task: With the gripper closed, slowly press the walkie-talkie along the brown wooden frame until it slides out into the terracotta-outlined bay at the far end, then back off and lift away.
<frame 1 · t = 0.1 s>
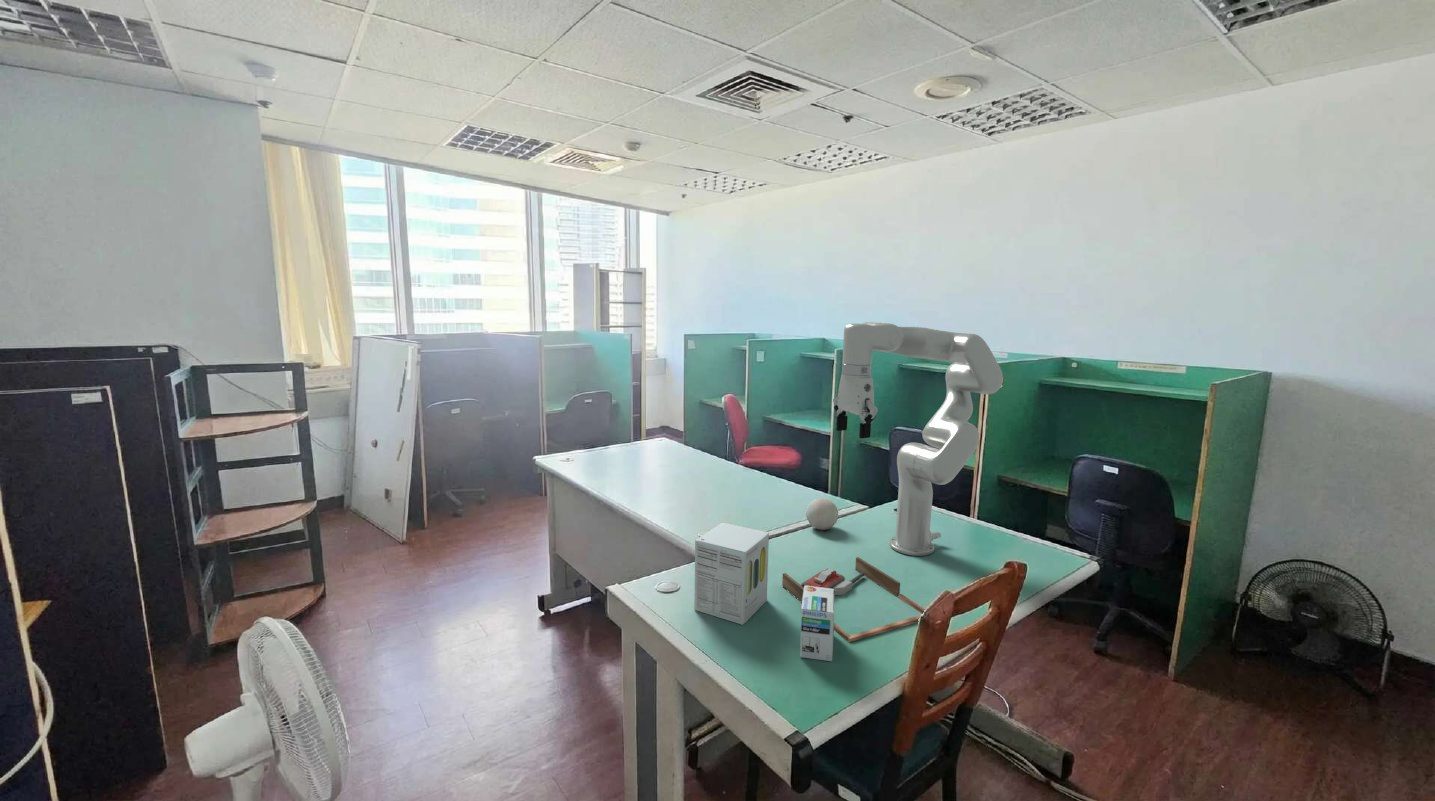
hand: (852, 433, 156), 37 cm above the table, tool pointing down, fingers open, 9 cm apart
light bulb box: (816, 646, 122), on the table
brown wooden frame: (855, 602, 140), on the table
supplement box: (731, 606, 138), on the table
eye model: (821, 529, 186), on the table
walkie-talkie: (832, 588, 148), on the table
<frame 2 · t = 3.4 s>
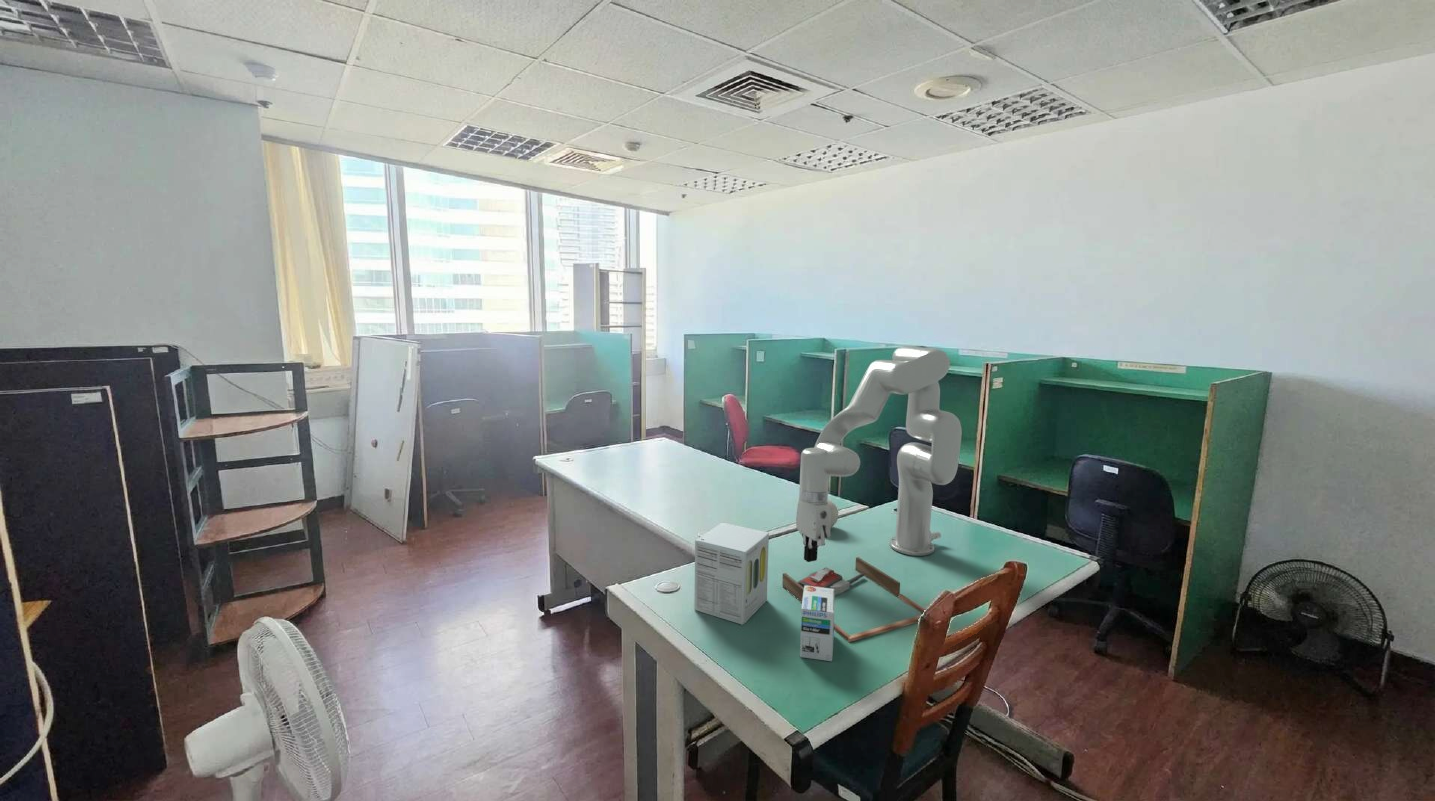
hand: (810, 559, 157), 3 cm above the table, tool pointing down, fingers closed
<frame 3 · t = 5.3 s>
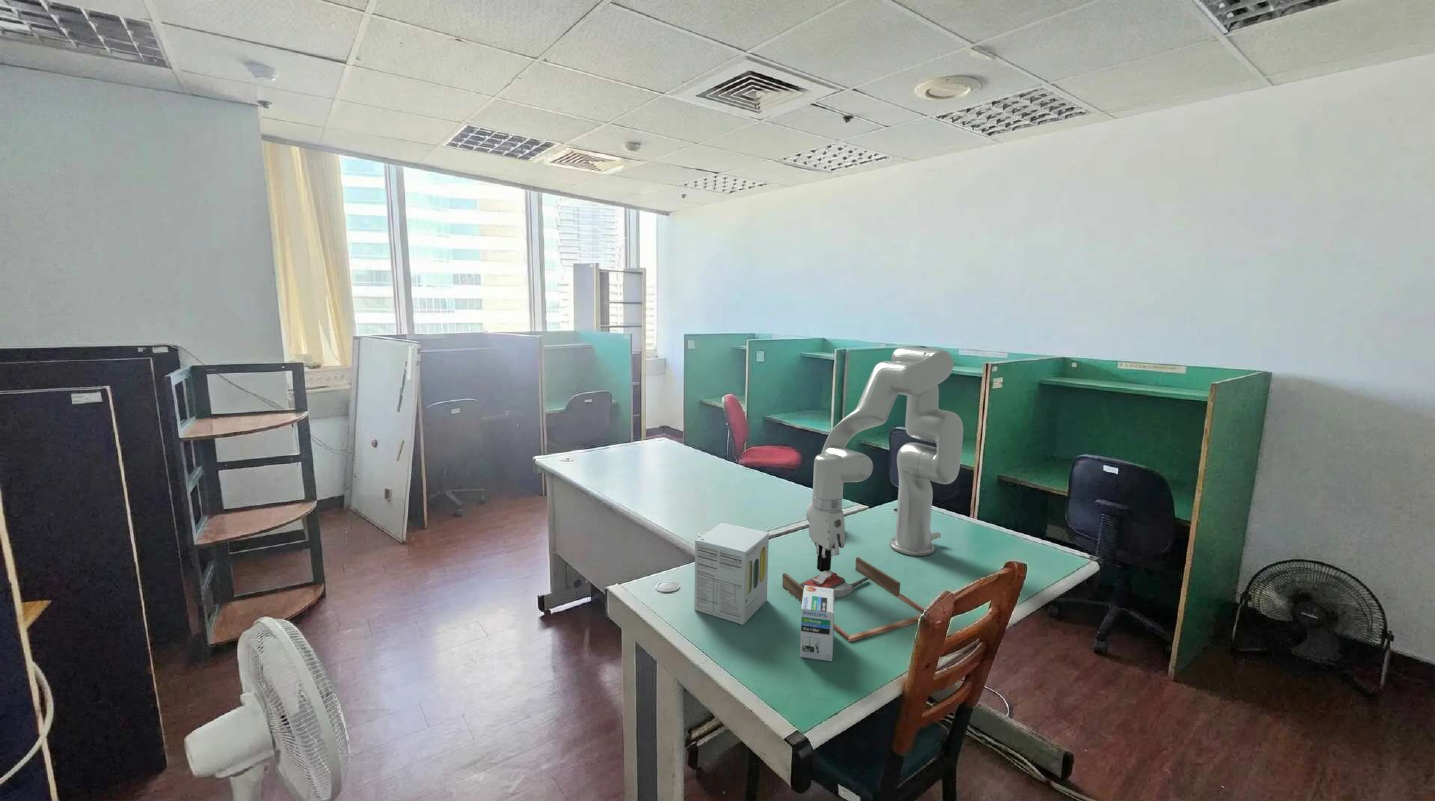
hand: (823, 569, 151), 3 cm above the table, tool pointing down, fingers closed
walkie-talkie: (832, 590, 147), on the table, touching gripper
everything else where it was.
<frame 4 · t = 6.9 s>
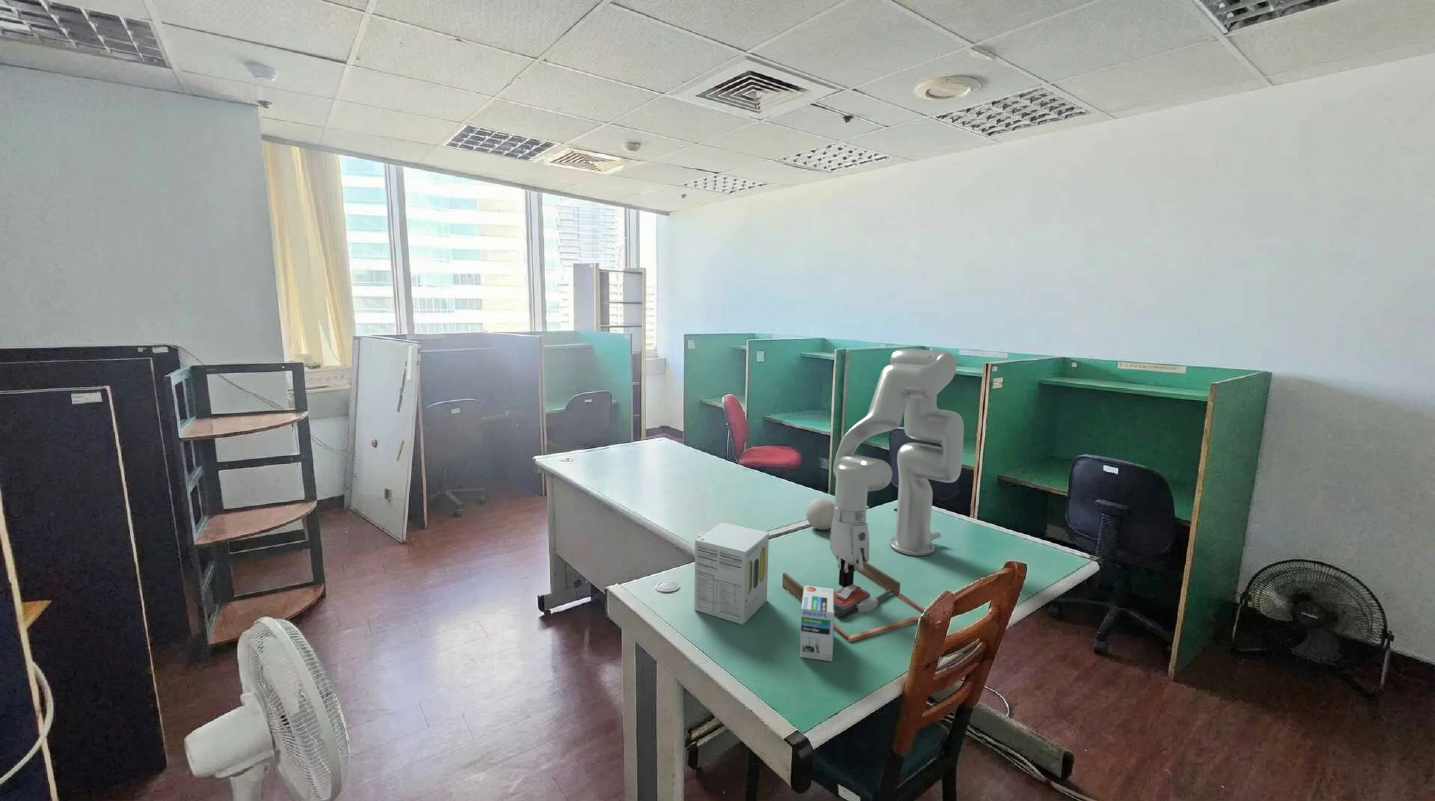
hand: (845, 585, 143), 3 cm above the table, tool pointing down, fingers closed
walkie-talkie: (856, 605, 140), on the table, touching gripper
everything else where it was.
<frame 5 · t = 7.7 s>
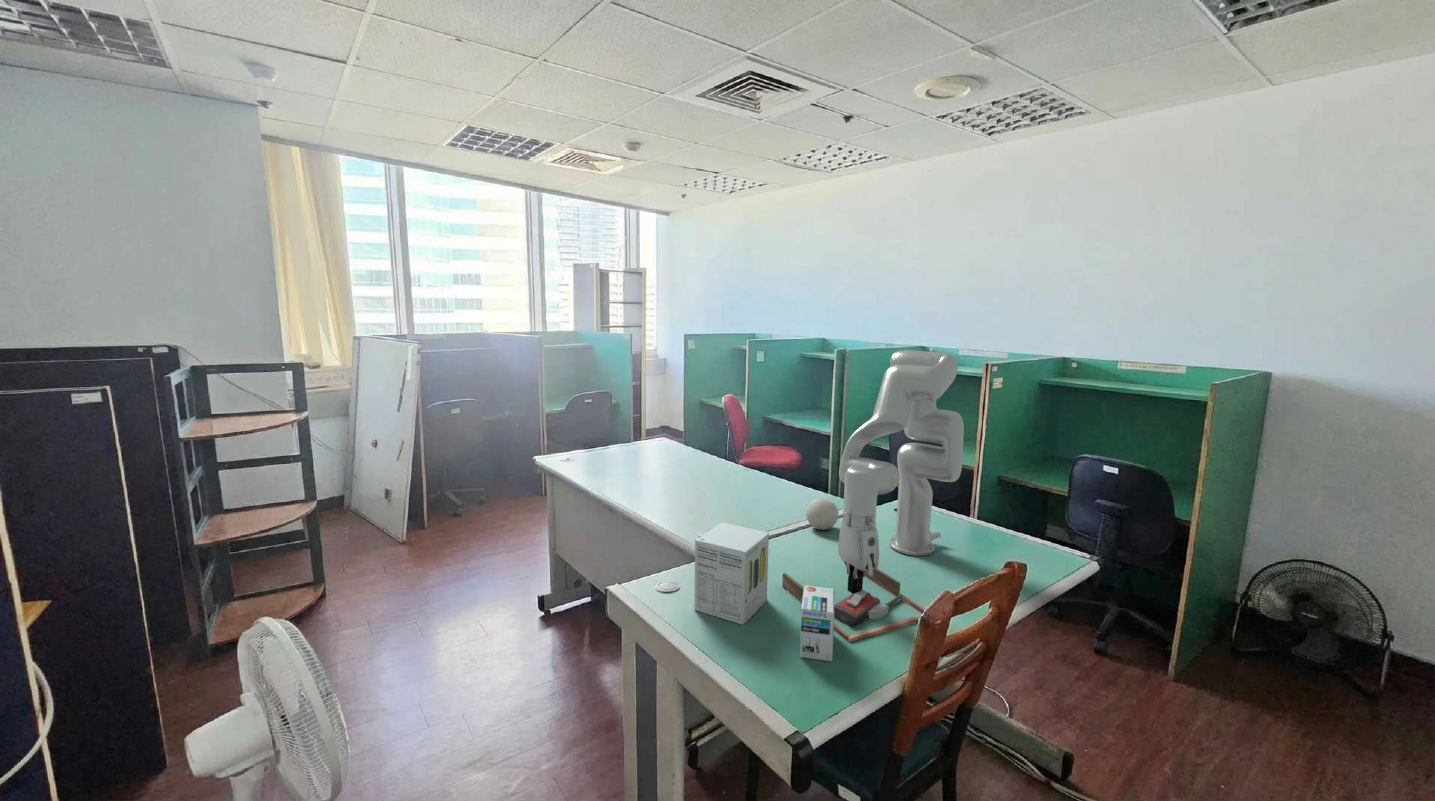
hand: (854, 591, 140), 3 cm above the table, tool pointing down, fingers closed
walkie-talkie: (866, 611, 138), on the table, touching gripper
everything else where it was.
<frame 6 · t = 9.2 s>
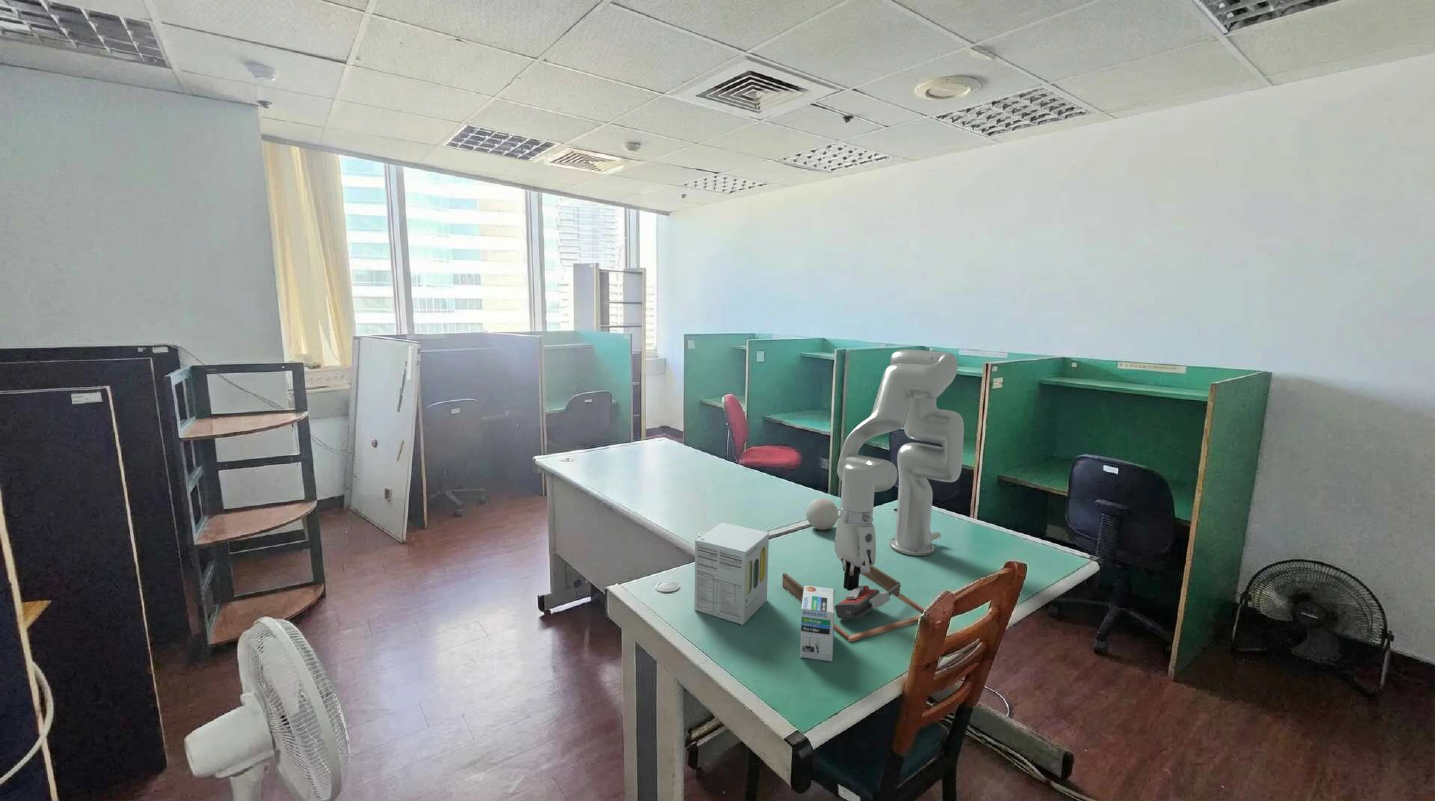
hand: (850, 588, 140), 4 cm above the table, tool pointing down, fingers closed
walkie-talkie: (870, 606, 136), point 1 cm above the table, touching gripper
everything else where it was.
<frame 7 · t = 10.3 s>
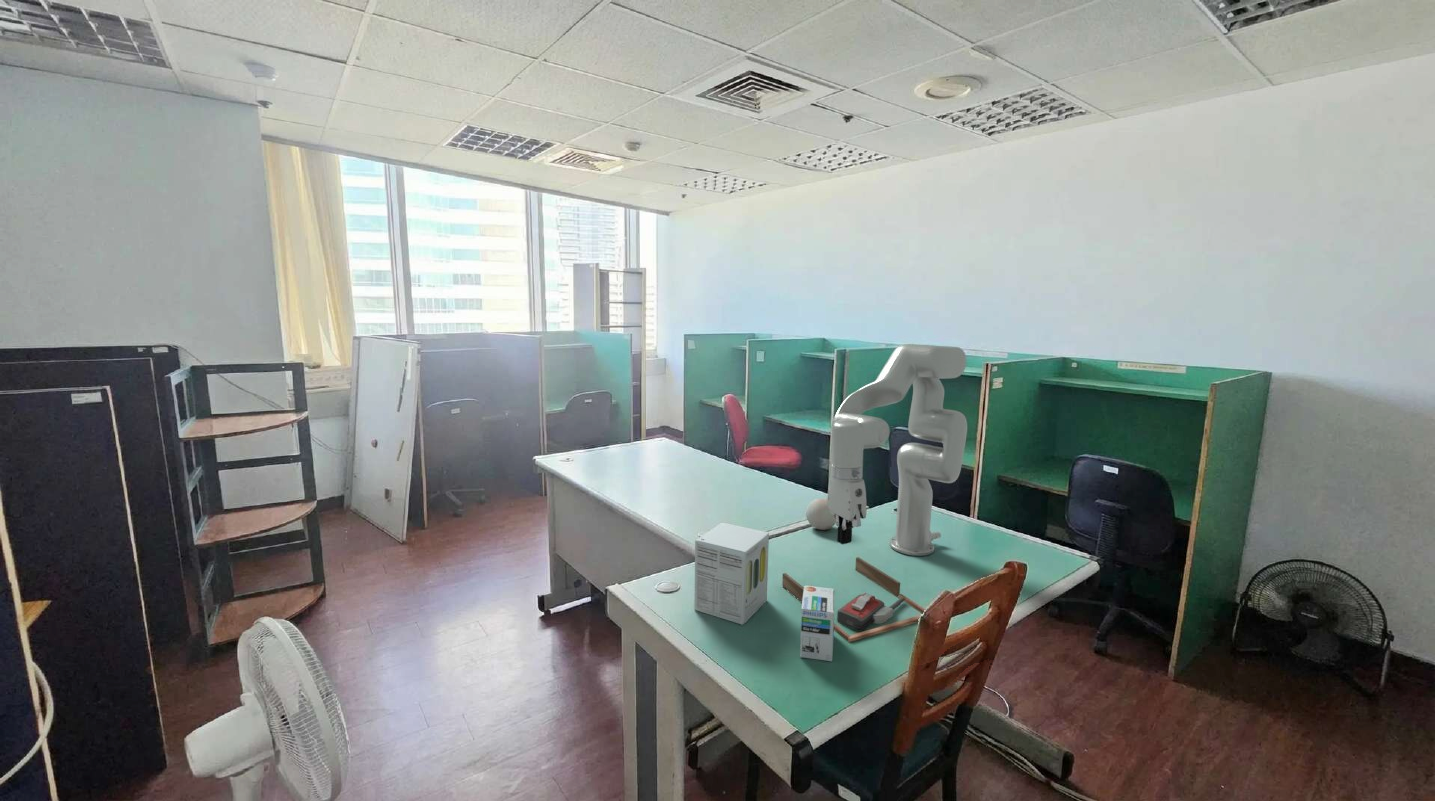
hand: (844, 542, 144), 13 cm above the table, tool pointing down, fingers closed
walkie-talkie: (870, 615, 136), on the table
everything else where it was.
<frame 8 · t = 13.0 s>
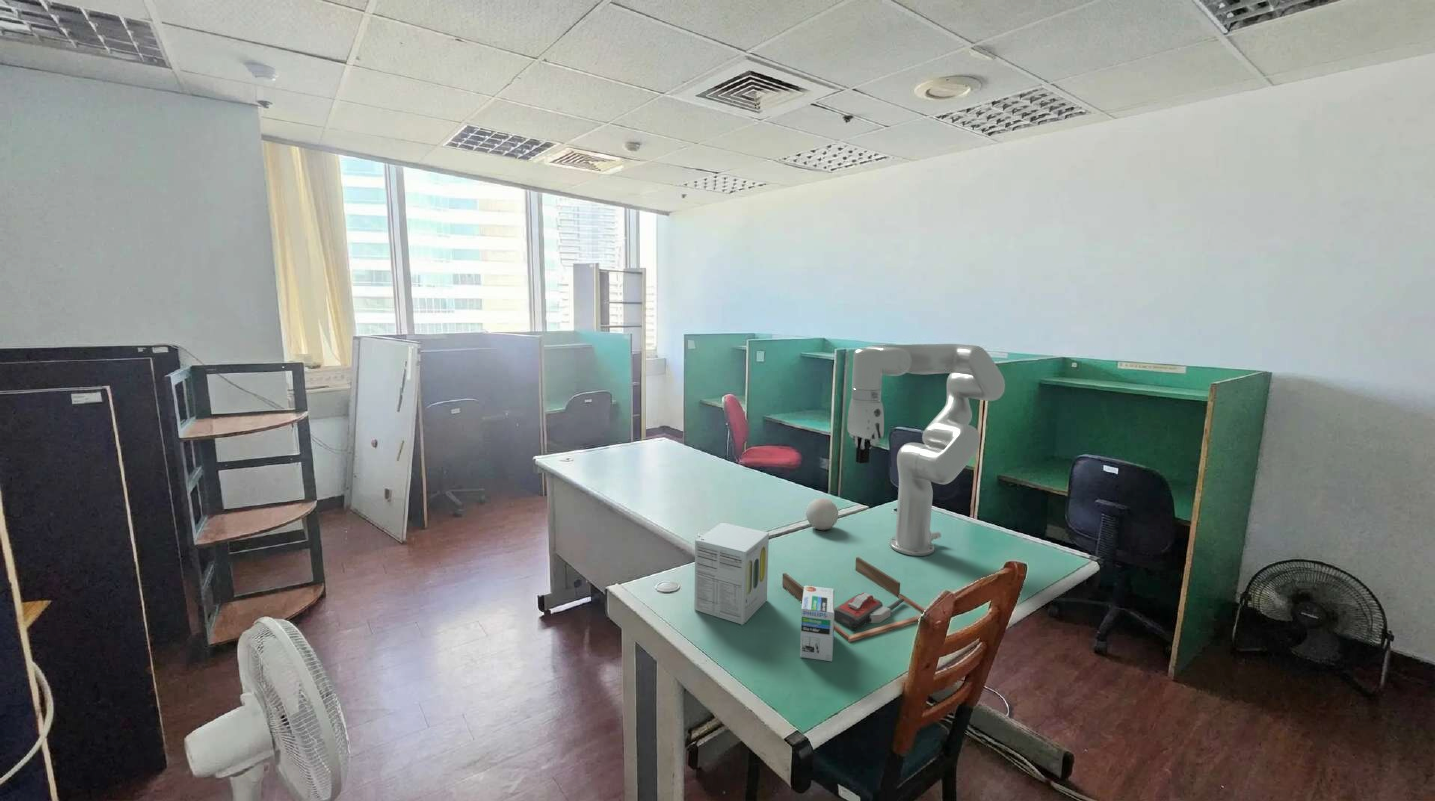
hand: (862, 462, 157), 29 cm above the table, tool pointing down, fingers closed
at the end: walkie-talkie inside the target area (2.5 cm from its centre), on the table; walkie-talkie moved 14.0 cm from its start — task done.
